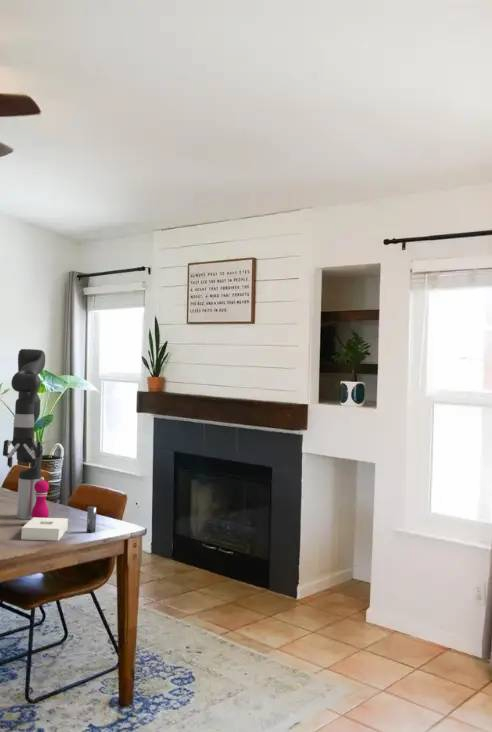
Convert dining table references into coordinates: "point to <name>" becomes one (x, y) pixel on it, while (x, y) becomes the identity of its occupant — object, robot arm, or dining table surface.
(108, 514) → the dining table surface
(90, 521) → the peg
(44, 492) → the pepper mill
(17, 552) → the dining table surface
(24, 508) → the robot arm
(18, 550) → the dining table surface
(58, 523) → the hole block
